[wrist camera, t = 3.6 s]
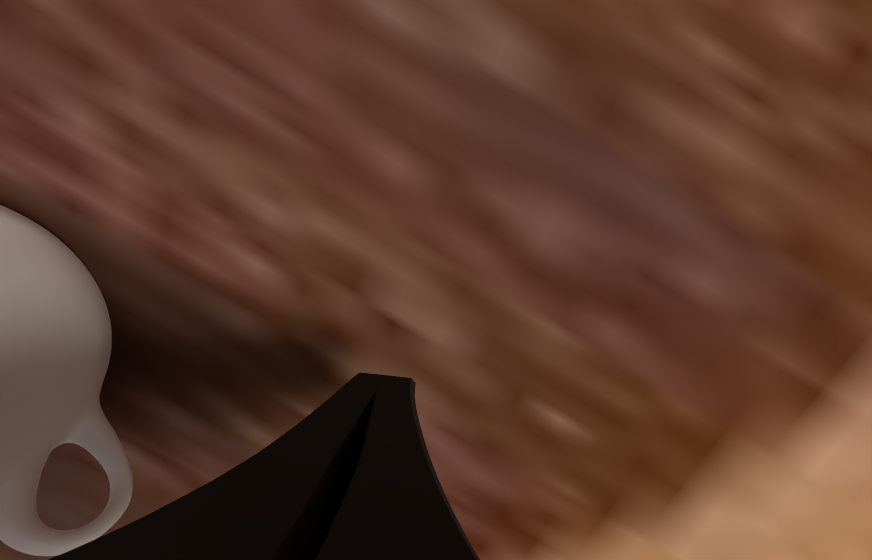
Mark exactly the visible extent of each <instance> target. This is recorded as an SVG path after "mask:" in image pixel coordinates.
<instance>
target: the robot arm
mask: <svg viewBox="0 0 872 560" xmlns="http://www.w3.org/2000/svg"><path fill="white" fill-rule="evenodd" d="M49 560H480V559H479V557H478V556H477V554H476V552H475V551H474V549H473V547H472V546H471V544H470V542H469V541H468V539H467V537H466V535H465V534H464V532H463V530H462V528H461V526H460V524H459V522H458V520H457V518H456V516H455V514H454V512H453V510H452V508H451V506H450V504H449V502H448V500H447V498H446V496H445V493H444V491H443V489H442V487H441V484H440V482H439V480H438V477H437V475H436V472H435V470H434V467H433V464H432V462H431V459H430V456H429V454H428V451H427V448H426V444H425V441H424V438H423V434H422V431H421V427H420V423H419V419H418V415H417V410H416V404H415V382H414V381H413V380H412V378H405V377H396V376H387V375H377V374H368V373H358V374H357V375H356V376H354V377H353V378H352V379H351V380H350V381H349V382H347V383H346V384H345V385H344V386H343V387H342V388H341V389H339V390H338V391H337V392H336V393H335V394H334V395H333V396H331V397H330V398H329V399H328V400H327V401H326V402H324V403H323V404H322V405H321V406H319V407H318V408H317V409H316V410H315V411H313V412H312V413H311V414H310V415H308V416H307V417H306V418H305V419H304V420H302V421H301V422H300V423H298V424H297V425H296V426H295V427H293V428H292V429H290V430H289V431H288V432H286V433H285V434H284V435H282V436H281V437H280V438H278V439H277V440H275V441H274V442H273V443H271V444H270V445H269V446H267V447H266V448H264V449H263V450H261V451H260V452H258V453H257V454H255V455H254V456H252V457H251V458H249V459H248V460H246V461H244V462H243V463H241V464H240V465H238V466H236V467H235V468H233V469H231V470H230V471H228V472H226V473H225V474H223V475H221V476H220V477H218V478H216V479H215V480H213V481H211V482H209V483H208V484H206V485H204V486H202V487H200V488H198V489H196V490H194V491H192V492H190V493H189V494H187V495H185V496H183V497H181V498H179V499H177V500H175V501H173V502H171V503H170V504H168V505H166V506H164V507H162V508H160V509H158V510H156V511H154V512H153V513H151V514H149V515H147V516H145V517H142V518H140V519H138V520H136V521H134V522H132V523H130V524H128V525H126V526H123V527H121V528H119V529H117V530H115V531H113V532H111V533H109V534H106V535H104V536H102V537H100V538H97V539H95V540H93V541H91V542H88V543H86V544H84V545H81V546H79V547H77V548H75V549H72V550H70V551H68V552H66V553H63V554H61V555H59V556H56V557H54V558H51V559H49Z"/></svg>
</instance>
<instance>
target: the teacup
mask: <svg viewBox="0 0 872 560" xmlns="http://www.w3.org/2000/svg"><path fill="white" fill-rule="evenodd" d="M111 348H112V329H111V322H110V317H109V313H108V309H107V306H106V303H105V300H104V298H103V295H102V293H101V291H100V289H99V287H98V285H97V283H96V282H95V280H94V278H93V277H92V275H91V274H90V272H89V271H88V270H87V268H86V267H85V266H84V264H83V263H82V262H81V261H80V259H79V258H78V257H77V256H76V255H75V254H74V253H73V252H72V251H71V250H70V249H69V248H68V247H67V246H66V245H65V244H64V243H62V242H61V241H60V240H59V239H58V238H57V237H55V236H54V235H53V234H51V233H50V232H49V231H47V230H46V229H44V228H43V227H41V226H40V225H38V224H37V223H35V222H33V221H32V220H30V219H28V218H26V217H25V216H23V215H21V214H19V213H17V212H15V211H13V210H11V209H8V208H6V207H4V206H2V205H0V540H1V541H2V542H4V543H5V544H6V545H8V546H9V547H11V548H13V549H15V550H17V551H20V552H23V553H26V554H30V555H36V556H55V555H61V554H63V553H66V552H68V551H70V550H72V549H75V548H77V547H79V546H81V545H84V544H86V543H88V542H91V541H93V540H95V539H97V538H98V537H100V536H101V535H102V534H104V533H105V532H106V531H107V530H108V529H109V528H110V527H112V526H113V525H114V524H115V523H116V522H117V520H118V519H119V518H120V517H121V516H122V515H123V513H124V512H125V510H126V508H127V507H128V505H129V502H130V499H131V496H132V490H133V478H132V471H131V466H130V463H129V460H128V457H127V455H126V452H125V450H124V448H123V446H122V444H121V442H120V440H119V438H118V436H117V434H116V433H115V431H114V429H113V428H112V426H111V425H110V423H109V421H108V420H107V418H106V417H105V415H104V413H103V411H102V408H101V405H100V399H99V396H100V392H101V387H102V384H103V381H104V378H105V375H106V372H107V369H108V365H109V361H110V355H111ZM64 443H73V444H77V445H79V446H81V447H83V448H84V449H86V450H87V451H88V452H89V453H90V454H92V455H93V456H94V457H95V458H96V459H97V460H98V461H99V463H100V464H101V465H102V467H103V468H104V470H105V472H106V474H107V476H108V479H109V483H110V497H109V501H108V504H107V506H106V507H105V509H104V511H103V512H102V513H101V514H100V515H99V516H98V517H97V518H95V519H94V520H93V521H91V522H90V523H88V524H86V525H84V526H82V527H80V528H77V529H73V530H57V529H53V528H50V527H48V526H46V525H45V524H44V523H42V522H41V520H40V519H39V517H38V515H37V509H36V496H37V489H38V484H39V480H40V477H41V474H42V471H43V467H44V465H45V463H46V461H47V459H48V456H49V454H50V453H51V451H52V450H53V449H54V448H56V447H57V446H59V445H61V444H64Z"/></svg>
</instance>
